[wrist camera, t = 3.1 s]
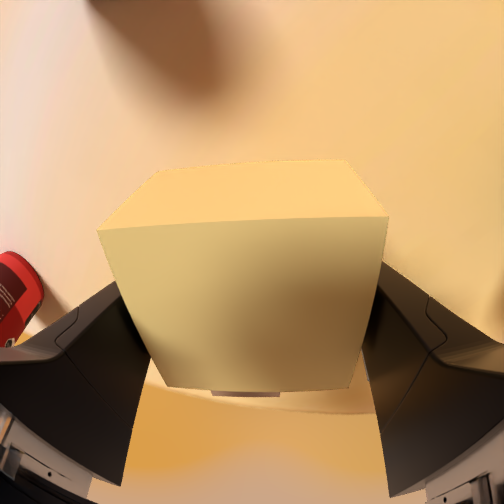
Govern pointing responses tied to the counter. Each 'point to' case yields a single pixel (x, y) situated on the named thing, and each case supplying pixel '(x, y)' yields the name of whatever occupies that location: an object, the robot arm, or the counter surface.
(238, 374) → the brick ochre
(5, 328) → the canned food
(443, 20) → the counter surface
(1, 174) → the counter surface
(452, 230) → the counter surface
